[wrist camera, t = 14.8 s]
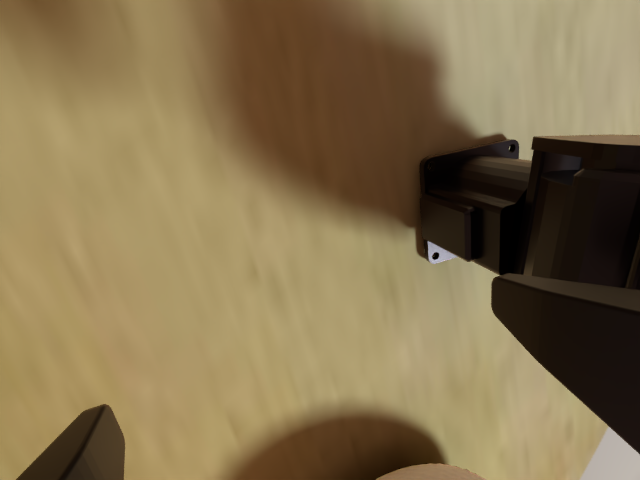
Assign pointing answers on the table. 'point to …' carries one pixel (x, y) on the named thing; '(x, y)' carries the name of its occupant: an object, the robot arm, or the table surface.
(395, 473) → the cereal bowl
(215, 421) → the table surface
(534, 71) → the table surface
